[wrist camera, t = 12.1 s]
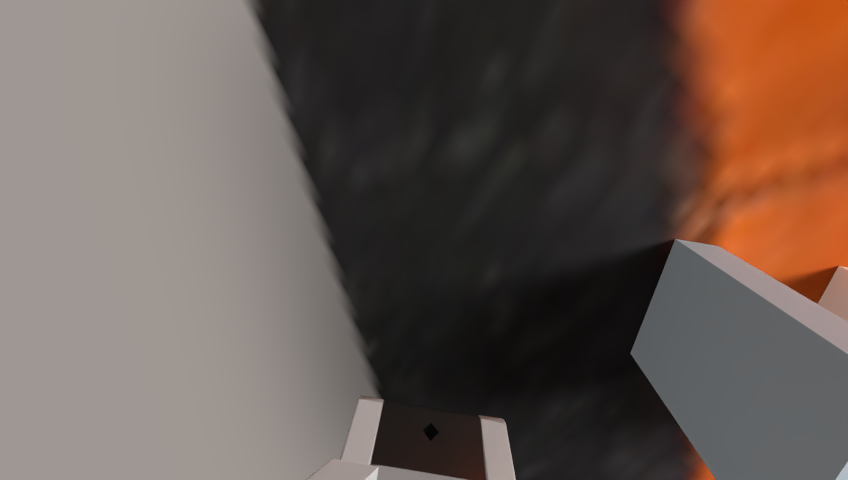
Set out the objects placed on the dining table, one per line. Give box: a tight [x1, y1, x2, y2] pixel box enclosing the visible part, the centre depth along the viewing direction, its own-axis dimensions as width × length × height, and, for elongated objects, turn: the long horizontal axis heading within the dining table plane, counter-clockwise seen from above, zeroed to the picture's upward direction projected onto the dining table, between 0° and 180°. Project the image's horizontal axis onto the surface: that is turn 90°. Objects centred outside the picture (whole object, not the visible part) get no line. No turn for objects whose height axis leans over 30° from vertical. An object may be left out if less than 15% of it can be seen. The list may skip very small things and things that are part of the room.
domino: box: [631, 239, 848, 480], centre depth 12 cm, size 2×5×8 cm, turn 171°
